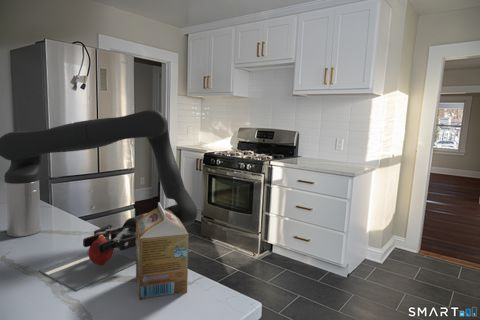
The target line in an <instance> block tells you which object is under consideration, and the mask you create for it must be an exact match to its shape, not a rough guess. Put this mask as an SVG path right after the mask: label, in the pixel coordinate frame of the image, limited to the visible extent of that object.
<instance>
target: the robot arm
mask: <svg viewBox="0 0 480 320" xmlns="http://www.w3.org/2000/svg"><path fill="white" fill-rule="evenodd" d="M168 124H169V122H168V120H167V118H166V117H165V115H164V114H163V113H162V112H160V111H159V110H156V109H146V110H142V111H138V112H134V113H130V114H127V115H122V116H117V117H105V118H95V119H88V120H81V121H75V122H70V123H66V124H62V125H57V126H54V127H51V128H46V129H40V130H32V131H31V130H30V131H28V130H26V131H25V130H24V131H23V130H22V131H21V130H20V131H10V132H7V133H5V134H3V135H2V136H0V157H1V158H3V159H4V160H7V161H10V166H9V167H8V169H7V171H6V172H5V173H4V192H5V213H6V214H5V215H6V233H7V234H6V235H7V236H9V237H14V238H15V237H16V238H18V237H27V236H31V235H35V234H37V233H39V232H41V230H42V227H41V226H42V224H41V223H42V222H41V221H42V220H41V199H40V198H41V196H40V191H41V190H40V174H41V171H42V155H46V154H52V153H53V154H54V153H55V154H56V153H67V152H69V153H70V152H79V151H86V150H91V149H97V148H102V147H106V146H109V145H111V144H114V143H117V142H119V141H124V140H130V139H137V138H146V139H147V141H148V142H149V144H150V147H151V148H152V151H153V154H154V158H155V162H156V163H155V164H156V168H157V173H158V177H159V182H160V184H161V188H162V191H163V194H164V196H165V198H166V199H169V200H174V202H175V203H176V204H173V205H170V206H168V207H165V208H163V209H164V210H166V211H168V212H170V213H172V214H173V215H175V216H176V217H177V218H178V219H179V220H180V221H181V223H182V224H183V225H186V224H191V223H194V222H195V221H196V219H197V218H198V208H197V205H196V203H195V202H194V200H193V199H192V197H191V195H190V194H189V192H188V190H187V189H186V187H185V184H184V181H183V178H182V175H181V172H180V170H179V167H178V164H177V161H176V158H175V156H174V152H173V148H172V144H171V140H170V135H169V125H168ZM148 213H149V212H147V213H142V214H139V215H136V216H133V217H130V218H128V219H126V220H125V222H124V223H123V224H122V225H119V226H116V227H113V225H111V224H108V225H105V226H102V227H101V228H98V229H95V230H94V231H93V235H90V236H87V237H85V238H83V240H82V244H83V245H82V246H83V247H84V248H88V247H89V248H90V246H91V244H92V243H93V242H94V241H95V240H97V239H98V237H99V236H100V235H103V236H104V239H106V240H108V241H106V242H104V243H101V244H99V245H98V252H99V253H103V252H106V251H108V250H111V249H113V250H118V249H119V250H120V251H125V250H129V249H131V248H134V247H135V248H136V222H138V221H139V220H140V219H141V218H142V217H143V216H145V215H146V214H148Z"/></svg>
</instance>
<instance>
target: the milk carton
mask: <svg viewBox="0 0 480 320" xmlns="http://www.w3.org/2000/svg"><path fill="white" fill-rule="evenodd" d="M164 209H165V208H163V205H161V202H160V201H159V202H157V207H156V208H154V209H153V210H151V211H149V212H147V213H148V214H146V213H145V214H146V215H145V216H143V217H142V218H141V219H140V220H139V221H138V222H136V246H135V260H136V264H135V280H136V287H137V295H138V300H139V301H143V300H144V301H145V300H149V299H155V298H160V297H167V296H173V295H179V294H185V293H188V271H189V268H188V267H189V265H188V264H189V237H190V236H189V235H190V234H189V233H188V231H187V229H186V227H185V226H184V224H182V223H181V221H180V220H179V219H178V218H177V217H176V216H175V215H173V214H172V213H170V212H168V211H166V210H164Z"/></svg>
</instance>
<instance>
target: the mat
mask: <svg viewBox="0 0 480 320" xmlns="http://www.w3.org/2000/svg"><path fill="white" fill-rule="evenodd" d="M134 265H135V266H136V258H132V257H129V256H127V255H125V254H121V253H119V252H116V251H115V250H114V251H113V255H112V257H111V259H109V260H108V261H107V262H106V263H105V264H104V265H102V266H100V265H97V264H95V263H93V262H92V261H91V260H90V259H89V254H88V252H85V253H82V254H80V255H77V256H74V257H71V258H68V259H66V260H65V259H64V260H63V261H60V262H58V263H54V264H52V265H49V266H47V267H44V268H40V269H39V270H38V271H39V272H40V273H42V274H43V275H46V276H47V277H49V278H51V279H53V280H55V281H56V282H58V283H61V284H62V285H64V286H66V287H67V288H70V289H71V290H74V291H75V292H78V291H80V290H83V289H84V288H86V287H87V288H88V286H89V287H90V286H91V285H93V284H96V283H98V282H99V281H102V280H104V279H106V278H109V277H111V276H113V275H115V274H118V273H119V272H121V271H123V270H126V269H128V268H130V267H132V266H134Z"/></svg>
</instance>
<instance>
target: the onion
mask: <svg viewBox="0 0 480 320" xmlns="http://www.w3.org/2000/svg"><path fill="white" fill-rule="evenodd" d="M104 238H105V237H104V236H103V235H100V236H99V237H98V239H97V240H95V241H94V242H93V243H92V244H91V246H89V248H88V251H87V253H88V254H89V259H90V260H91V261H92V262H93V263H95V264H97V265H100V266H102V265H104V264H105V263H106V262H107V261H108V260H109V259H111V257H112V255H113V251H114V252H115V249H111V250H108V251H106V252H103V253H99V252H98V245H99V244H101V243H104V242H106V241H108V240H106V239H104Z"/></svg>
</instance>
